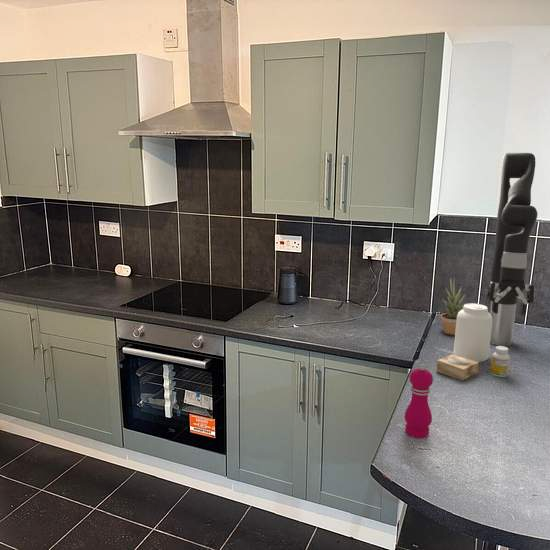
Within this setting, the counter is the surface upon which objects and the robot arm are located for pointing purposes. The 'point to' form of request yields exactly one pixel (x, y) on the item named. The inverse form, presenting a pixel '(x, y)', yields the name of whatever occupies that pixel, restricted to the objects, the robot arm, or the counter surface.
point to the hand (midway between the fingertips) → (508, 314)
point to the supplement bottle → (500, 362)
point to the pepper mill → (419, 403)
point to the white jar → (473, 332)
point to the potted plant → (451, 310)
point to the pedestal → (457, 366)
